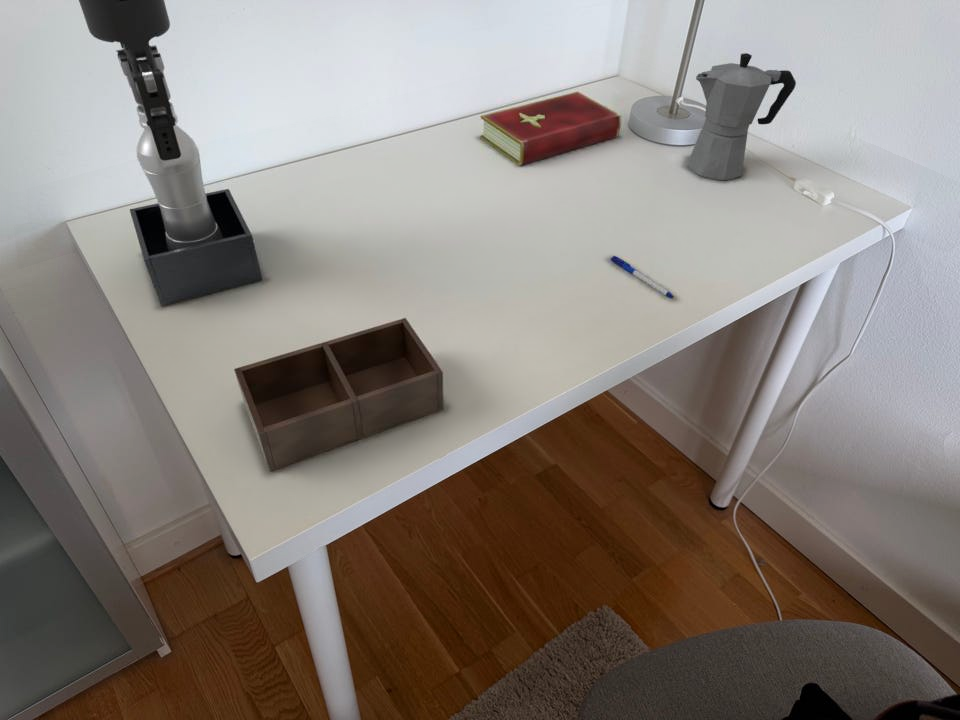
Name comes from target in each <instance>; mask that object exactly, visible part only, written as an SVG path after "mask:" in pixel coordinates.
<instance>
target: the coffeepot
mask: <svg viewBox="0 0 960 720" xmlns="http://www.w3.org/2000/svg"><path fill="white" fill-rule="evenodd" d="M752 56H753V55H752V54H750V53H747V52H746V53H745V52H744V53H740V60H739V63H733V62H728V63H723V64H717V65H712V66H711V69H710V70H707V71H706V70H705V71H701V72H700V73H698V74H697V75H695V80H696V81H698V82H699V84H700V86H701V89H702V92H703V96H704V98H705V102H706V104H705V113H704V117H705V119H704V123H703V125H702V127H701V130H700V132H699V134H698V136H697V139H696V142H695V144H694V146H693V149H691V153H690V155H689V158H688V161H687V164H686V166H687V167H688V169H689V170H690V171H691V172H693V174H695V175H697V176H700V177H702V178H704V179H709V180H714V181H731V180H735V179H737V178H738V177H741V176H742V174H743V167H744V160H745V154H746V147H747V141H748V134H749V128H750V125H753V122H754V120H755V117H756V116H757V114H758V111H759V109H760V107H761V106H762V103H763V101H764V98H765V96H766V95H767V92H768V90H769V88H770V87H771V86H772V85H774V86H775V85H779V84H783V86H782V88H781V89H780V91H779V92H778V94H777V96H776V99H775V100H774V102H773V103H772V104H771V106H770V107H769V110H768V112H767V114H766V116H765V117H758V118H757V124H758V125H770V124H771V123H772V122H773V121H774V119H775V118H776V116H777V115H778V113H779V111H780V110H781V109H782V107H783V106H784V104H785V103H786V102H787V100H788V98H789V97H790V95H791V94H792V93H793V92H794V90H795V88H796V84H797V81H796V79H795V77H794V76H793V74H792V72H791V71H790V70H787V69H785V70H784V69H783V70H778V69H767V70H763V69H761V68H759V67H758V66H754V65H749V63H750V60H751V59H752Z"/></svg>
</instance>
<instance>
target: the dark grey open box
mask: <svg viewBox="0 0 960 720" xmlns="http://www.w3.org/2000/svg"><path fill="white" fill-rule="evenodd" d="M205 194H206V198H207V202H208V204H209V207H210V209H211V212H212V215H213V217H214V220H215V222H216V224H217V225H218V227H219V229H220V231H221V234H222V236H223V238H224V239H221V240H216V241H212V242H208V243H203V244H199V245H195V246H190V247H186V248H182V249H177V250H173V251H169V250H168V247H167V242H166V230H165V226H164V222H163V218H162V213H161V209H160V206H159V204H158V202H157V203H154V204H147V205H143V206H139V207H134V208H129V213H130V217H131V221H132V223H133V226H134V231H135V235H136V237H137V241H138V244H139V248H140V251H141V255H142V258H143V262H144V264H145V267H146V269H147V271H148V274H149V277H150V280H151V283H152V286H153V288H154V292H155V294H156V296H157V299H158V302H159V304H160V307H165V306H169V305H173V304H177V303H181V302H184V301H189V300H193V299H197V298H200V297H204V296H208V295H212V294H215V293H216V294H217V293H220V292H223V291H224V292H225V291H227V290H232V289H235V288H240V287H243V286H246V285H251V284H254V283H258V282H262V281H263V276H262V272H261V267H260V263H259V260H258V255H257V250H256V246H255V242H254V238H253V234H252V232H251V230H250V228H249V226H248V224H247V222H246V220H245V218H244V216H243V214H242V212H241V210H240V208H239V206H238V205H237V202H236V200H235V199H234V196H233V195H232V193H231V190H230V188H226V189H221V190H216V191H211V192H205Z"/></svg>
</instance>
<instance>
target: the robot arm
mask: <svg viewBox="0 0 960 720" xmlns="http://www.w3.org/2000/svg"><path fill="white" fill-rule="evenodd" d="M78 2H79V5H80V8H81V11H82V15H83V17H84V20H85V22H86V27H87V29H88V31H89V33H90V35H91V36H92V37H93V38H95V39H97V40H99V41H102V42H107V43H112V44H113V43H115V42H116V43H119V44H120V47H121V49H115V53H116V56H117V60H118V62H119V64H120V67H121V69H122V73H123V75H124V76H125V77H126V80H127V82H128V86H129V88H130V89H131V92H132V95H133V98H134V101H135V104H137V106H138V105H140V106H142V107H143V110H144V113H145V116H146V119H147V120H146V123H147V125H148V126H149V128H150V129H151V132H152V135H153V138H154V141H155V144H156V148H157V151H158V154H159V157H160V159H161V160H163V161H166V160H172V159H177V158H180V156H181V152H180V149H179V145H178V142H177V138H176V135H175V131H174V128H173V126H175V122H176V121H175V117H173V114H172V111H171V107H170V103H169V102H170V100H171V92H170V89H169V86H168V83H167V79H166V76H165V74H164V71H165V64H164V61H163V58H162V55H161V53H160V52H159V50H158V47H157V45H156V44H154V45H153V44H152V45H150V41H151V40H152V39H154V38H158V37H161V36H163V35H165V34H166V33H167V32H168V31H169V30H170V27H171V22H170V18H169V14H168V9H167V6H166V3H165V0H78ZM158 107H164V111H165V114H159V115H153V116H152V115H151V112H150V110H151V109H152V108H158Z"/></svg>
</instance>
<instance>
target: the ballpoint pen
mask: <svg viewBox="0 0 960 720" xmlns="http://www.w3.org/2000/svg"><path fill="white" fill-rule="evenodd" d="M610 261H611V262H612V263H614V264H615V265H617V266H618V267H620V268H621V269H623V270H624V271H626V272H627V273H628V274H629V273H630V275H633V276H635V277H636V278H637V279H640V280H641V281H642V282H644V283H645V284H647V285H648V286H650V287H652V288H653V289H654V290H656V291H658V292H659V293H661V294H662V295H664V296H666V297H668V298H670V299H673V298H674V295H673V294H672V293H671V292H670V291H669V290H667V289H666V288H664V287H663V286H661V285H659V284H658V283H656V282H654V281H653V280H651V279H650V278H649V277H647V276H646V275H644V274H642V273H641V272H639V271H637V270H636V269H635V268H634V267H632V265H631V264H630V263H628V262H626V261H625V260H624V259H622V258H620V257H618V256H616V255H612V257H610Z"/></svg>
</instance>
